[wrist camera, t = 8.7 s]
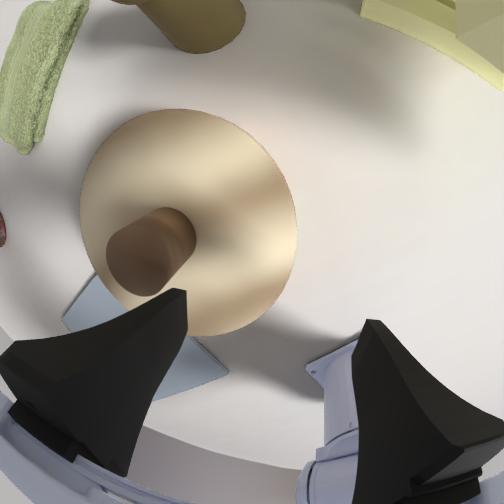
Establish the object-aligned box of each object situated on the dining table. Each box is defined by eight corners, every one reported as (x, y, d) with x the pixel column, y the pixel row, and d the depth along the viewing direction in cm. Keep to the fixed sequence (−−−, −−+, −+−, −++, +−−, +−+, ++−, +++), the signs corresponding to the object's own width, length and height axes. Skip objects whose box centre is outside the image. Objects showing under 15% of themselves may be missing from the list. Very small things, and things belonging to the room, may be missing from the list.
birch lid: (343, 269, 16) (357, 315, 12) (172, 352, 21) (148, 394, 17) (196, 60, 12) (157, 35, 8) (60, 207, 18) (16, 227, 13)
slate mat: (229, 371, 26) (228, 374, 26) (146, 401, 32) (145, 403, 32) (116, 252, 23) (113, 254, 23) (63, 318, 29) (61, 320, 28)
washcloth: (-3, 129, 21) (-20, 132, 18) (42, 4, 13) (25, 0, 10) (43, 156, 21) (21, 161, 18) (104, -2, 14) (84, -11, 11)
